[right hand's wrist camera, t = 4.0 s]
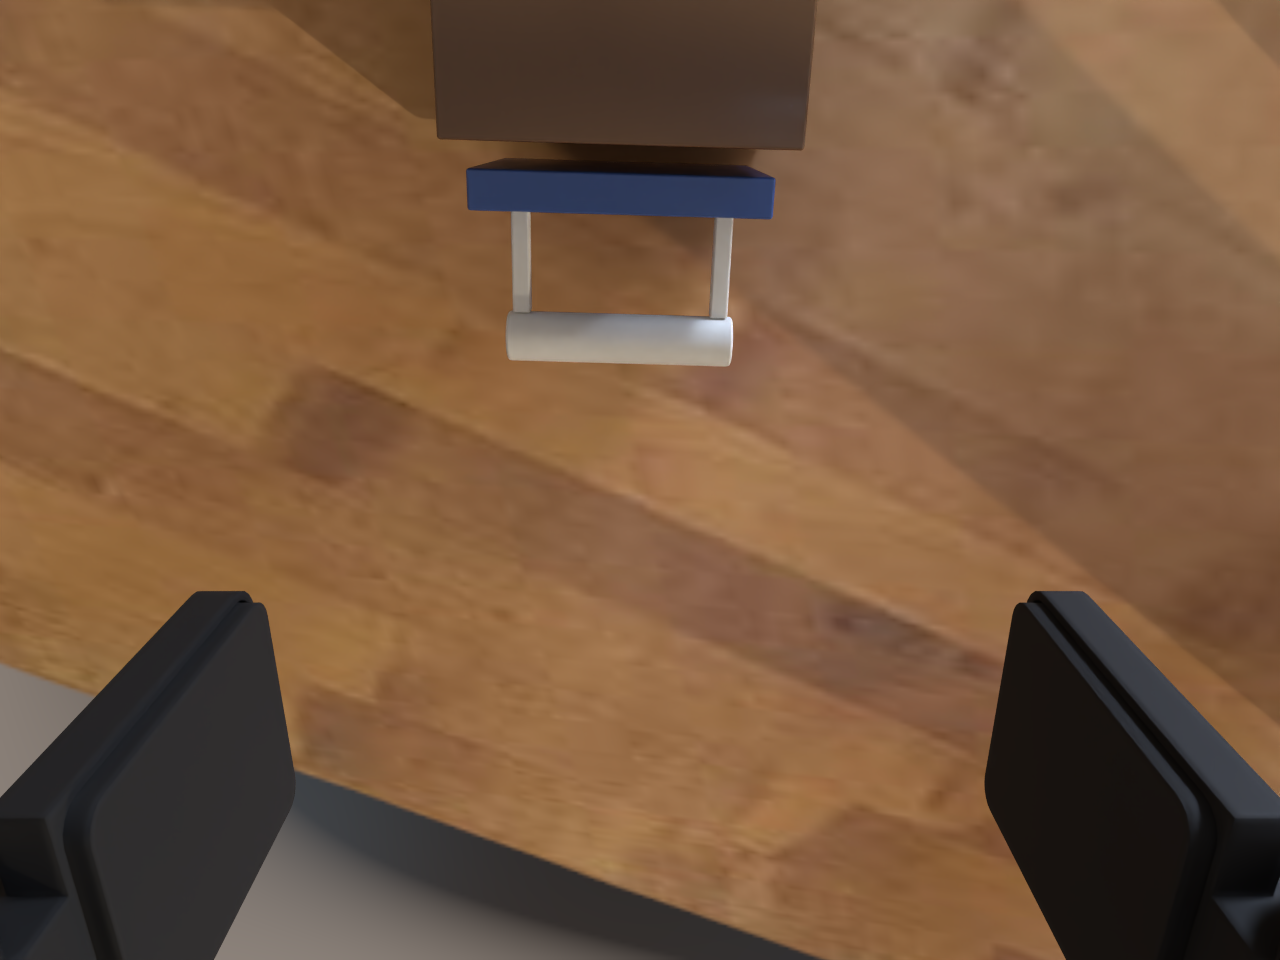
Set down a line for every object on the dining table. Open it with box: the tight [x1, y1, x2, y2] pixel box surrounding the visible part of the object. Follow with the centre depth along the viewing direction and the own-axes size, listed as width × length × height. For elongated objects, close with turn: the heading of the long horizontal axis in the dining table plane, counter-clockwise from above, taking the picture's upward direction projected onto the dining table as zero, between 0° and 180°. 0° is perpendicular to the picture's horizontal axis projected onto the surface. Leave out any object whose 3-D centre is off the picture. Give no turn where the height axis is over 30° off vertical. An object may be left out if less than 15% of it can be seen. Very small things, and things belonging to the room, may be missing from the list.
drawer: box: [466, 158, 776, 366], centre depth 29 cm, size 21×9×8 cm, turn 178°
